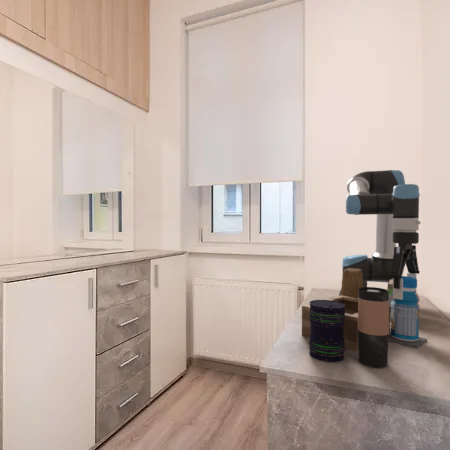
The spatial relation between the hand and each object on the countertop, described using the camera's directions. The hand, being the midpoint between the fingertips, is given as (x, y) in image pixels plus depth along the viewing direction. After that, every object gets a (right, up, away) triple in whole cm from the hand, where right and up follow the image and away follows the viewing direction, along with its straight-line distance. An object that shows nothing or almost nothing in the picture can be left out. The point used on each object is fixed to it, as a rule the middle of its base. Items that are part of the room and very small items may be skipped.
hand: (404, 295), depth 105 cm
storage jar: (-30, -14, -14) cm, 36 cm away
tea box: (+13, -15, +26) cm, 33 cm away
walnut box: (-17, -15, +6) cm, 23 cm away
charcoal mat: (0, -15, 0) cm, 15 cm away
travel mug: (-19, -15, -18) cm, 30 cm away
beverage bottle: (0, -14, 0) cm, 14 cm away
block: (-6, -15, +27) cm, 31 cm away
